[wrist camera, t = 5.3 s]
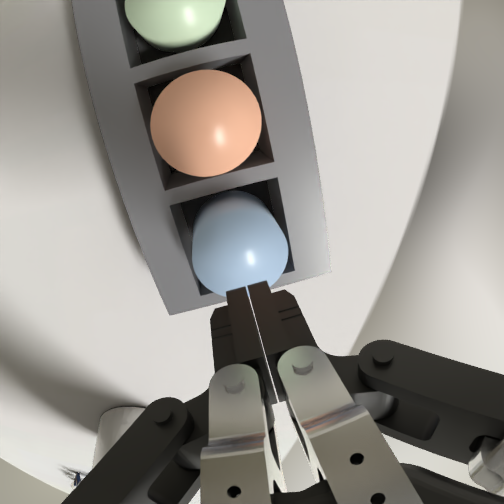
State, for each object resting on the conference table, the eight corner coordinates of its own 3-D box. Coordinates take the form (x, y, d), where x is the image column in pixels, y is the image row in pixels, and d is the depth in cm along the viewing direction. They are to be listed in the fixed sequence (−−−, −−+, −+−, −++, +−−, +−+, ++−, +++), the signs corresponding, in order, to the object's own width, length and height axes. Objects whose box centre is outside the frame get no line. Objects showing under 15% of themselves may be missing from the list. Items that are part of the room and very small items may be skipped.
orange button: (257, 150, 17) (271, 161, 13) (173, 172, 16) (167, 189, 13) (238, 68, 14) (248, 59, 11) (151, 91, 14) (138, 87, 11)
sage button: (229, 41, 15) (235, 27, 12) (146, 62, 14) (134, 53, 11) (212, -25, 13) (215, -50, 9) (131, -5, 12) (118, -26, 9)
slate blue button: (279, 253, 20) (294, 284, 16) (205, 273, 19) (207, 307, 16) (264, 181, 17) (279, 199, 14) (182, 203, 17) (179, 226, 14)
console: (311, 244, 22) (331, 271, 19) (173, 280, 22) (169, 315, 18) (250, -40, 13) (262, -68, 10) (91, 1, 13) (69, -18, 9)
